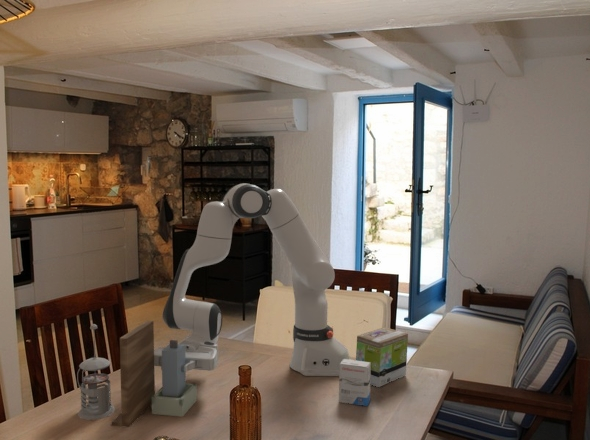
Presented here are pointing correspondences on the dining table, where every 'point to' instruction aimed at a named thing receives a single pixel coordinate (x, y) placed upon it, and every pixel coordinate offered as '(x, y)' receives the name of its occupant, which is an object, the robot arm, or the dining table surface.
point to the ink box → (354, 382)
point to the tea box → (383, 354)
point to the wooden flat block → (136, 373)
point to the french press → (95, 389)
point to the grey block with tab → (173, 369)
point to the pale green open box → (174, 402)
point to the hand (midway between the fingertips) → (173, 368)
